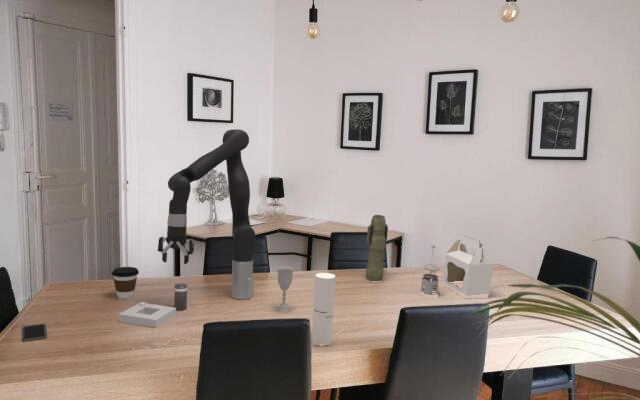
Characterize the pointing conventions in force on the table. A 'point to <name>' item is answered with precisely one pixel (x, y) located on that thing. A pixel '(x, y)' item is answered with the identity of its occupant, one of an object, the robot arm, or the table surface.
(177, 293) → the lens
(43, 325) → the cell phone
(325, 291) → the cylindrical container
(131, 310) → the plate
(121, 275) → the coffee cup
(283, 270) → the chalice
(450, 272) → the gable box
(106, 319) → the table surface
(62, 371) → the table surface
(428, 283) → the french press
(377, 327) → the table surface
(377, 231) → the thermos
